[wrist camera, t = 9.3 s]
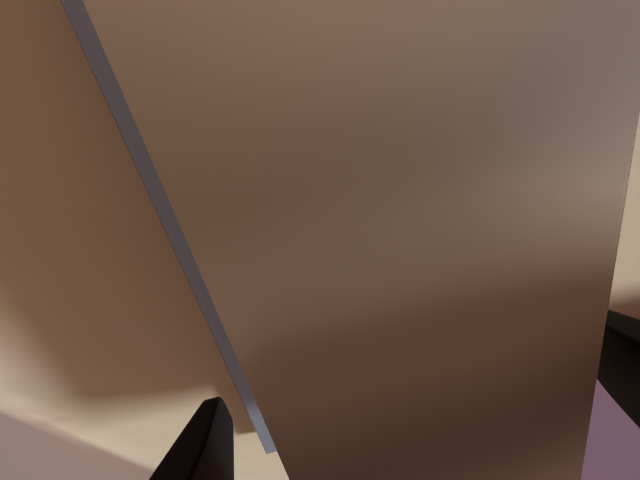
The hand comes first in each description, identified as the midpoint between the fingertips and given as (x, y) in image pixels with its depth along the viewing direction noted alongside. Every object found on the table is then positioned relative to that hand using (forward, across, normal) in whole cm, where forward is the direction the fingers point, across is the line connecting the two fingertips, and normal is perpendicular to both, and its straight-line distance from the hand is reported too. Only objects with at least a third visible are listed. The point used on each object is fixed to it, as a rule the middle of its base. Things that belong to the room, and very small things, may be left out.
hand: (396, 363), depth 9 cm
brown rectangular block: (+2, 0, 0) cm, 2 cm away
